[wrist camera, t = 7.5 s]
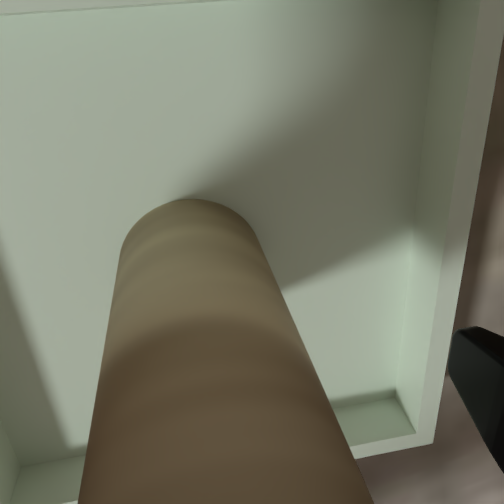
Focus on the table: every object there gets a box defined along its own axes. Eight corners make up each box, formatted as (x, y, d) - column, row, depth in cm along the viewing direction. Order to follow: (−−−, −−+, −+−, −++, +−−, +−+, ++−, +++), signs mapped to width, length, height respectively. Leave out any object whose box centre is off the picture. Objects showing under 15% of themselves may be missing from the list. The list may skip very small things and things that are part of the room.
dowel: (264, 313, 13) (496, 964, 4) (133, 333, 12) (65, 1119, 4) (257, 190, 11) (625, 842, 2) (105, 208, 11) (-154, 1108, 2)
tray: (401, 394, 16) (432, 443, 14) (11, 467, 14) (-11, 532, 13) (454, -46, 10) (519, -59, 8) (-205, -8, 8) (-306, -15, 7)
